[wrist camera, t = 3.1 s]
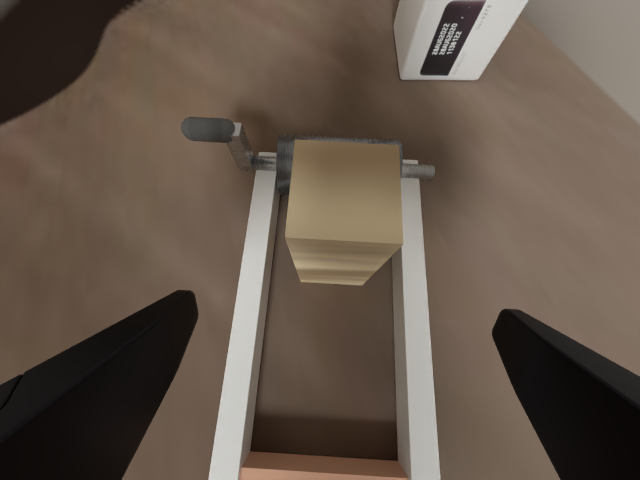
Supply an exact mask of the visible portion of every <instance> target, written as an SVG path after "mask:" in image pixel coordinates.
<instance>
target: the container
mask: <svg viewBox="0 0 640 480" xmlns="http://www.w3.org/2000/svg"><path fill="white" fill-rule="evenodd" d="M528 1H529V0H400V1H399V5H398V9H397V13H396V17H395V21H394V25H393V28H394V36H395V44H396V52H397V59H398V67H399V75H400V78H401V79H402V80H477V79H478V78H479V77H480V76H481V74H482V73H483V71H484V70H485V68H486V66H487V65H488V63H489V62H490V60H491V59H492V57H493V56H494V54H495V52H496V51H497V49H498V48H499V46H500V45H501V43H502V41H503V40H504V38H505V37H506V35H507V34H508V32H509V31H510V29H511V27H512V26H513V24H514V23H515V21H516V20H517V18H518V17H519V15H520V13H521V12H522V10H523V9H524V7H525V6H526V4H527V2H528Z"/></svg>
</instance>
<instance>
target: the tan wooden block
mask: <svg viewBox="0 0 640 480" xmlns="http://www.w3.org/2000/svg"><path fill="white" fill-rule="evenodd" d="M285 239H286V242H287V245H288V248H289V251H290V253H291V256H292V259H293V262H294V265H295V267H296V270H297V273H298V276H299V279H300V281H301V282H310V283H327V284H344V285H361V286H362V285H363V284H364V283H365V282H366V281H367V280H368V279H369V278H370V277H371V276H372V275H373V274H374V273H375V272H376V271H377V270H378V269H379V268H380V267H381V266H382V265H383V264H384V263H385V262H386V261H387V260H388V259H389V258H390V257H391V256H392V255H393V254H394V253H395V252H396V251H397V250H398V249H399V248H400V247H401V246H402V245H403V222H402V200H401V178H400V156H399V145H389V144H370V143H351V142H332V141H313V140H295V145H294V154H293V164H292V173H291V183H290V193H289V202H288V212H287V221H286V231H285Z"/></svg>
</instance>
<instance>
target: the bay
mask: <svg viewBox="0 0 640 480" xmlns="http://www.w3.org/2000/svg"><path fill="white" fill-rule="evenodd" d="M181 129H182V132H183V134H184V136H185V137H186V138H188V139H189V140H192V141H203V142H222V143H227V144H228V147H229V149H230V151H231V153H232V155H233V157H234V159H235V161H236V163H237V165H238V167H239V169H240V171H241V172H256V175H255V181H254V188H253V194H252V201H251V207H250V214H249V220H248V227H247V233H246V240H245V246H244V252H243V259H242V265H241V272H240V278H239V285H238V291H237V298H236V304H235V311H234V317H233V324H232V330H231V337H230V343H229V350H228V356H227V363H226V369H225V375H224V382H223V388H222V395H221V401H220V408H219V414H218V421H217V427H216V434H215V440H214V447H213V453H212V460H211V466H210V473H209V479H208V480H440V467H439V453H438V439H437V425H436V410H435V396H434V382H433V368H432V354H431V340H430V326H429V312H428V298H427V284H426V269H425V255H424V241H423V227H422V213H421V199H420V185H419V181H432V180H433V178H434V174H435V167H434V165H427V164H418V160H404V159H403V149H402V144H401V141H400V140H395V139H376V138H357V137H337V136H318V135H299V134H280V136H279V139H278V145H277V153H272V152H259V155H253V153H252V150H251V147H250V144H249V142H248V139H247V136H246V134H245V131H244V128H243V125H242V123H233V122H232V121H230V120H228V119H221V118H202V117H188V118H186V119H185V120H184V121H183V122H182V125H181ZM295 140H313V141H332V142H351V143H370V144H389V145H399V156H400V178H401V200H402V222H403V245H402V246H401V247H400V248H399V249H398V250H397V251H396V252H395V253H394V254H393V255H392V282H393V315H394V348H395V381H396V414H397V447H398V461H391V460H376V459H360V458H345V457H329V456H314V455H299V454H283V453H268V452H253V451H250V448H251V439H252V431H253V422H254V414H255V405H256V397H257V388H258V379H259V371H260V362H261V354H262V345H263V337H264V328H265V320H266V311H267V303H268V294H269V286H270V277H271V269H272V260H273V251H274V243H275V234H276V226H277V217H278V209H279V200H280V195H289V193H290V183H291V173H292V164H293V154H294V145H295Z"/></svg>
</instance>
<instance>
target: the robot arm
mask: <svg viewBox="0 0 640 480" xmlns="http://www.w3.org/2000/svg"><path fill="white" fill-rule="evenodd" d="M197 320H198V308H197V303H196V299H195V294H194V292H193V291H190V290H177V291H175V292H173V293H171V294H170V295H168V296H166V297H164V298H162V299H160V300H158V301H157V302H155V303H153V304H151V305H149V306H147V307H145V308H143V309H142V310H140V311H138V312H136V313H134V314H132V315H130V316H128V317H127V318H125V319H123V320H121V321H119V322H117V323H115V324H114V325H112V326H110V327H108V328H106V329H104V330H102V331H100V332H99V333H97V334H95V335H93V336H91V337H89V338H87V339H85V340H84V341H82V342H80V343H78V344H76V345H74V346H72V347H71V348H69V349H67V350H65V351H63V352H61V353H59V354H57V355H56V356H54V357H52V358H50V359H48V360H46V361H44V362H43V363H41V364H39V365H37V366H35V367H33V368H31V369H29V370H28V371H26V372H25V373H24V374H23V375H18V376H16V377H14V378H12V379H11V380H9V381H7V382H5V383H3V384H1V385H0V480H122V478H123V476H124V474H125V472H126V470H127V468H128V466H129V464H130V462H131V460H132V458H133V456H134V455H135V453H136V451H137V449H138V447H139V445H140V443H141V441H142V439H143V437H144V435H145V433H146V431H147V429H148V427H149V425H150V423H151V421H152V419H153V418H154V416H155V414H156V412H157V410H158V408H159V406H160V404H161V402H162V400H163V398H164V396H165V394H166V392H167V390H168V388H169V386H170V384H171V383H172V381H173V379H174V377H175V375H176V372H177V370H178V368H179V366H180V363H181V361H182V358H183V356H184V353H185V351H186V348H187V346H188V343H189V341H190V338H191V335H192V333H193V330H194V328H195V325H196V323H197ZM492 336H493V340H494V342H495V345H496V347H497V350H498V352H499V354H500V357H501V359H502V362H503V364H504V367H505V369H506V372H507V374H508V377H509V379H510V381H511V384H512V386H513V388H514V391H515V393H516V395H517V397H518V399H519V401H520V403H521V404H522V406H523V408H524V410H525V412H526V414H527V416H528V418H529V420H530V422H531V424H532V426H533V428H534V430H535V431H536V433H537V435H538V437H539V439H540V441H541V443H542V445H543V447H544V449H545V451H546V453H547V455H548V457H549V458H550V460H551V462H552V464H553V466H554V468H555V470H556V472H557V474H558V476H559V478H560V480H640V376H638V375H636V374H634V373H632V372H631V371H629V370H627V369H625V368H623V367H622V366H620V365H618V364H616V363H614V362H613V361H611V360H609V359H607V358H605V357H604V356H602V355H600V354H598V353H596V352H595V351H593V350H591V349H589V348H587V347H586V346H584V345H582V344H580V343H578V342H577V341H575V340H573V339H571V338H569V337H568V336H566V335H564V334H562V333H560V332H559V331H557V330H555V329H553V328H551V327H550V326H548V325H546V324H544V323H542V322H541V321H539V320H537V319H535V318H533V317H532V316H530V315H528V314H526V313H524V312H522V311H521V310H517V309H503V310H502V311H501V312H500V314H499V316H498V318H497V320H496V323H495V325H494V327H493V329H492Z"/></svg>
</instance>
